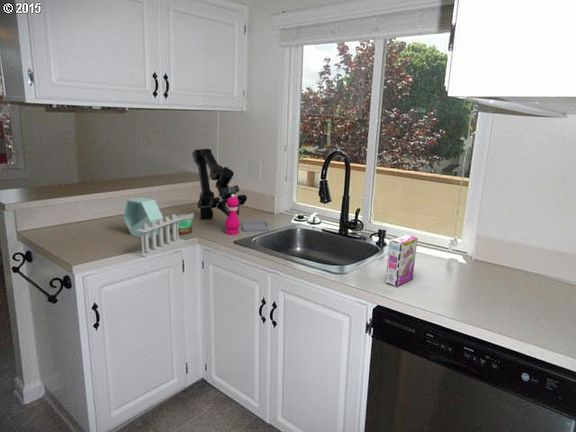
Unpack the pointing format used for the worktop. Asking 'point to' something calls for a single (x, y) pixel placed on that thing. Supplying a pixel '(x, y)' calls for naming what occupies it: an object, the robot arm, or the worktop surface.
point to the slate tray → (255, 226)
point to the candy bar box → (401, 260)
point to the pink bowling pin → (232, 216)
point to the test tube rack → (153, 233)
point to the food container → (184, 223)
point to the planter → (141, 215)
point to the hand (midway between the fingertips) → (233, 215)
